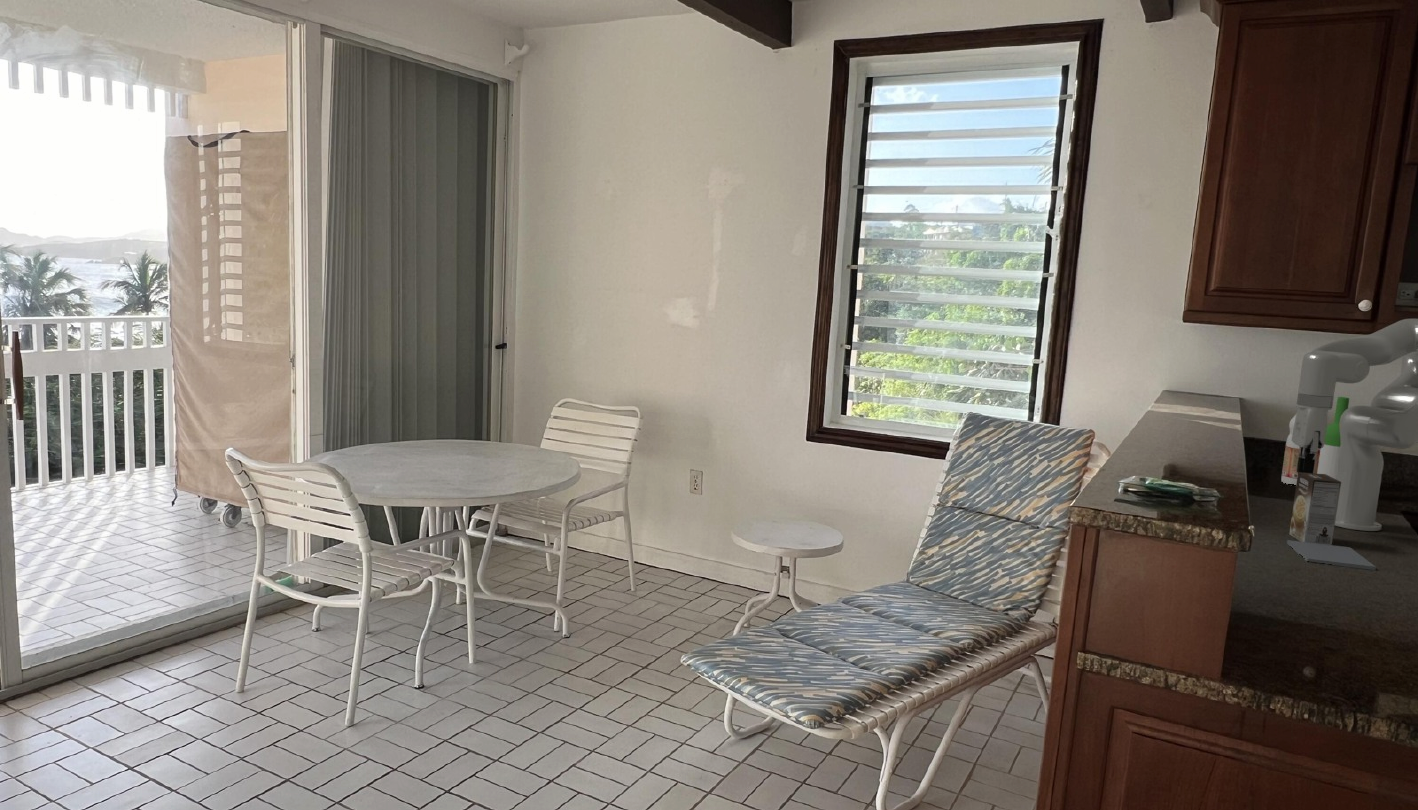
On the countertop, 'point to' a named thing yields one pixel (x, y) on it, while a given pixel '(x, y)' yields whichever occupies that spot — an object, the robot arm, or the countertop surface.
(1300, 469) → the robot arm
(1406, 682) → the countertop surface
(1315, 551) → the rubber mat
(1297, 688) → the countertop surface
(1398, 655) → the countertop surface
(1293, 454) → the fruit juice
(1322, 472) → the wine bottle
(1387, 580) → the countertop surface
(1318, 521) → the coffee box
